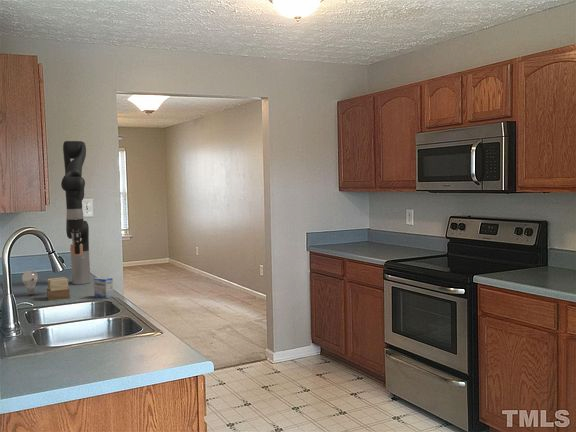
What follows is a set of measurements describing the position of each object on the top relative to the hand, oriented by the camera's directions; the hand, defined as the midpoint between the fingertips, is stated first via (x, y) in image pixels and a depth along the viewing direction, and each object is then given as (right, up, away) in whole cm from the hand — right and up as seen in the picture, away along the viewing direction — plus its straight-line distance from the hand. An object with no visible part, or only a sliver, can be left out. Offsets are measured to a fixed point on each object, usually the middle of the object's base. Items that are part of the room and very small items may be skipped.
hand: (76, 253), depth 267 cm
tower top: (-5, -16, -10) cm, 20 cm away
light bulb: (-21, -20, -2) cm, 29 cm away
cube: (0, -1, 0) cm, 1 cm away
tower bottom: (-4, -20, -11) cm, 23 cm away
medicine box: (+17, -20, -11) cm, 28 cm away
